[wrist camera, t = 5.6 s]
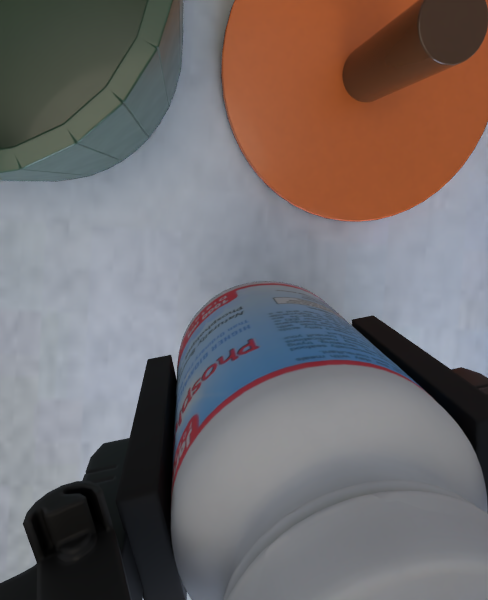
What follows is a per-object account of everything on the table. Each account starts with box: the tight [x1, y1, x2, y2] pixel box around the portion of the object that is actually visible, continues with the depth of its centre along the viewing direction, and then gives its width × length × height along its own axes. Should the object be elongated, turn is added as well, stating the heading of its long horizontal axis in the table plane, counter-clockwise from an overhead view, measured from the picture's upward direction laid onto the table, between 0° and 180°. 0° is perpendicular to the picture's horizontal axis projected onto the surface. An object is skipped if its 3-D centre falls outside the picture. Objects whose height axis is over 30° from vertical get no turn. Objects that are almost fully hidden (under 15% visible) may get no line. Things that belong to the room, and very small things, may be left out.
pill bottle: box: [171, 281, 488, 600], centre depth 10 cm, size 6×6×11 cm
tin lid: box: [221, 0, 488, 222], centre depth 23 cm, size 18×18×10 cm
